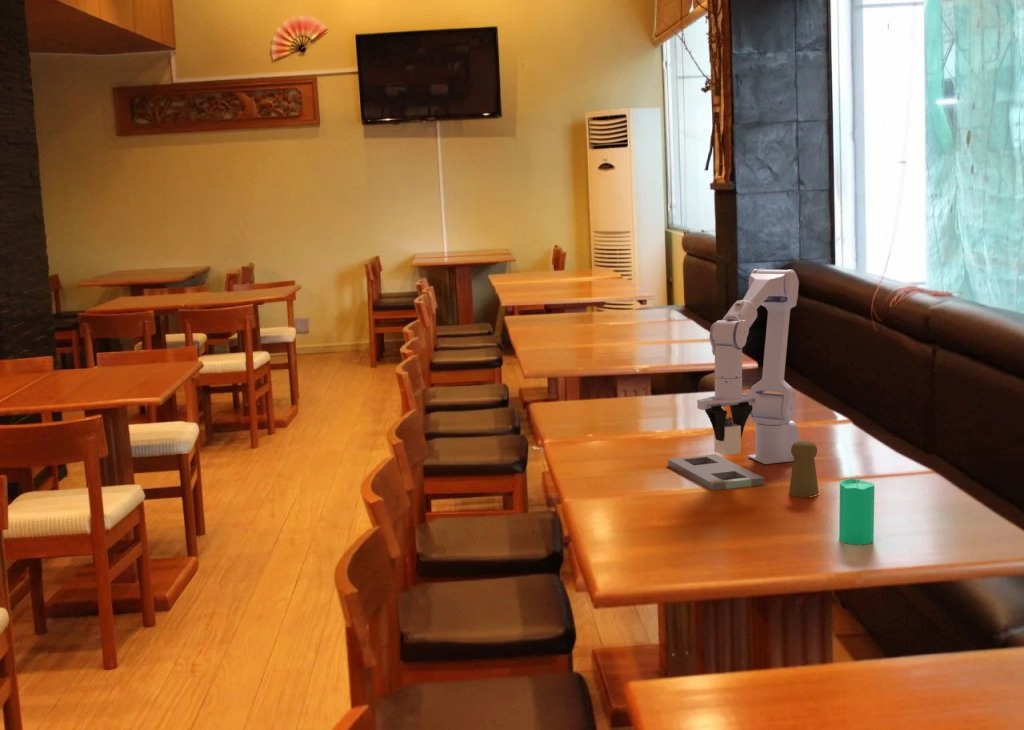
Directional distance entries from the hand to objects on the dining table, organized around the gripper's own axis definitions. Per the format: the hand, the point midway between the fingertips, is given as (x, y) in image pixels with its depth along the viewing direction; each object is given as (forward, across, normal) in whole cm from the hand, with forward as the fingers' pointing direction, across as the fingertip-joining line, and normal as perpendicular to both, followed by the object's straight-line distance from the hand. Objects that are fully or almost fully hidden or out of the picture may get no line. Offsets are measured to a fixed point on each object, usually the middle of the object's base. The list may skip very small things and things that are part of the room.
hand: (728, 438), depth 247 cm
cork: (+10, -8, +15) cm, 20 cm away
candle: (+10, +3, +44) cm, 45 cm away
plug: (+3, 0, 0) cm, 3 cm away
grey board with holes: (+10, -1, -7) cm, 12 cm away
